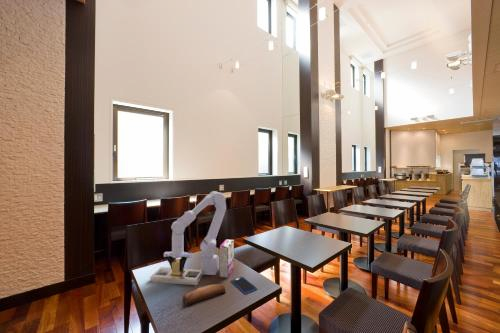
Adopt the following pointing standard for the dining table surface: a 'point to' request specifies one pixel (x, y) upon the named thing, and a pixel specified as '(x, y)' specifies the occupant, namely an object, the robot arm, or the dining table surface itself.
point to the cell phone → (244, 285)
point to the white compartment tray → (176, 279)
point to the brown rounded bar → (203, 293)
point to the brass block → (176, 268)
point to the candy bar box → (226, 258)
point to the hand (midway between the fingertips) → (177, 270)
